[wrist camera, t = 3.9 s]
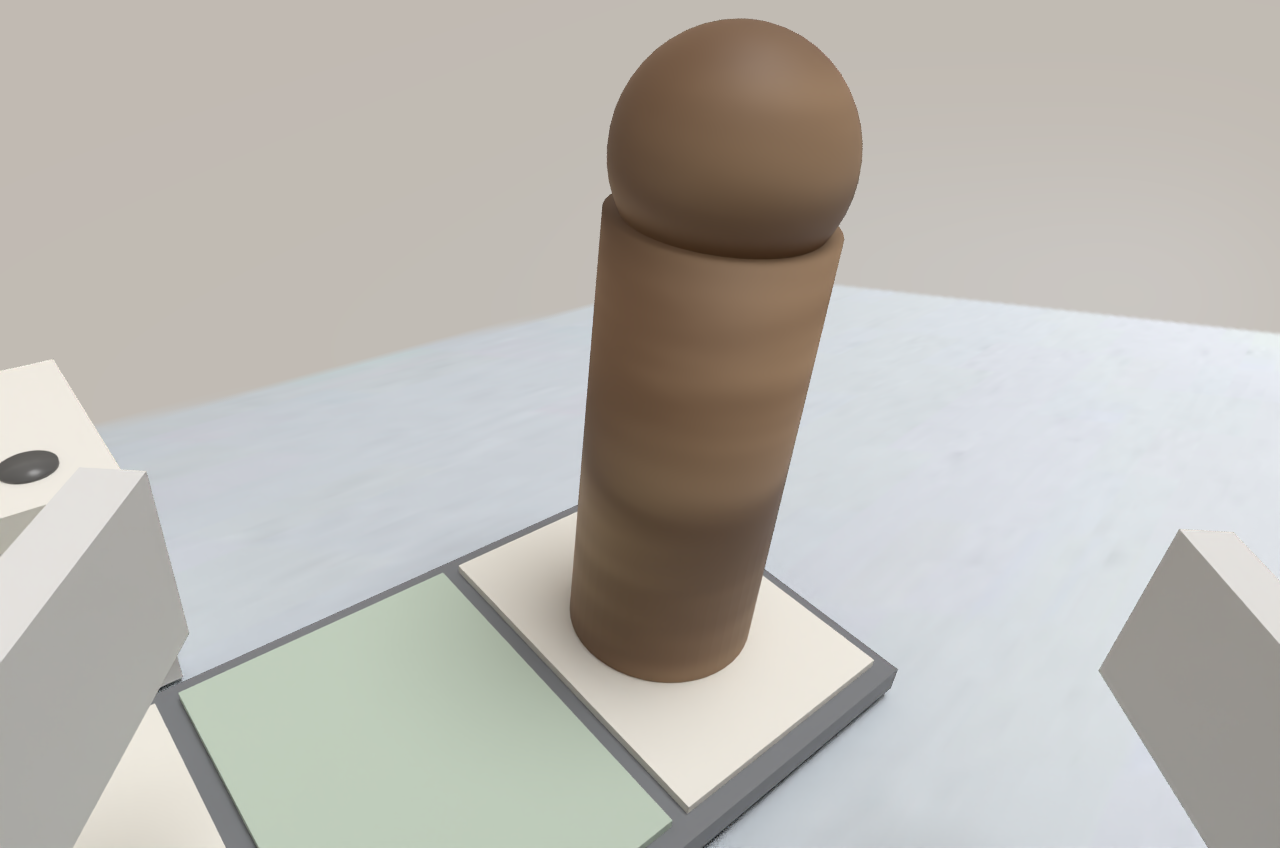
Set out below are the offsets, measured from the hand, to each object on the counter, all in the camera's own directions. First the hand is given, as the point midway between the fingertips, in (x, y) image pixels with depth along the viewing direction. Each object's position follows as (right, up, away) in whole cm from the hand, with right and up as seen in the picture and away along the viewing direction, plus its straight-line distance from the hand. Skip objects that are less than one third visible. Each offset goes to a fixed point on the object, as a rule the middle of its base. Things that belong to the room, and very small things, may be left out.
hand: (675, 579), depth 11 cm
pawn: (0, -2, +8) cm, 8 cm away
